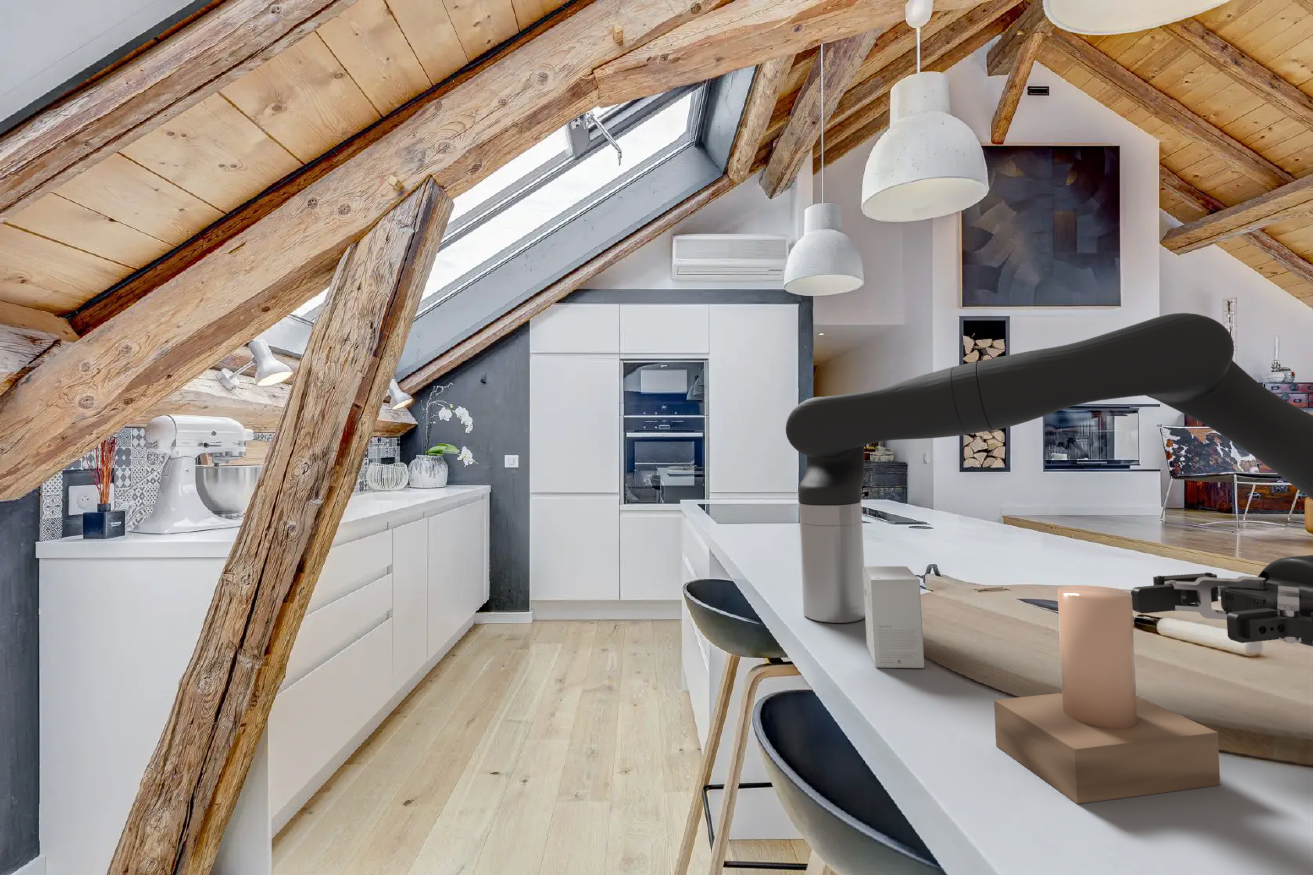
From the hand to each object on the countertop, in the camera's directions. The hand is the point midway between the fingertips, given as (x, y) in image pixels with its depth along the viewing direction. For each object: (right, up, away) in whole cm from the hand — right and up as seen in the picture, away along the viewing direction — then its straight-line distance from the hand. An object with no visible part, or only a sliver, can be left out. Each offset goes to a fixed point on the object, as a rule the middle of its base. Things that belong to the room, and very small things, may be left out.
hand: (1179, 613), depth 53 cm
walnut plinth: (-7, -12, -1) cm, 14 cm away
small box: (-14, -13, +25) cm, 32 cm away
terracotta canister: (-7, -8, -1) cm, 11 cm away
